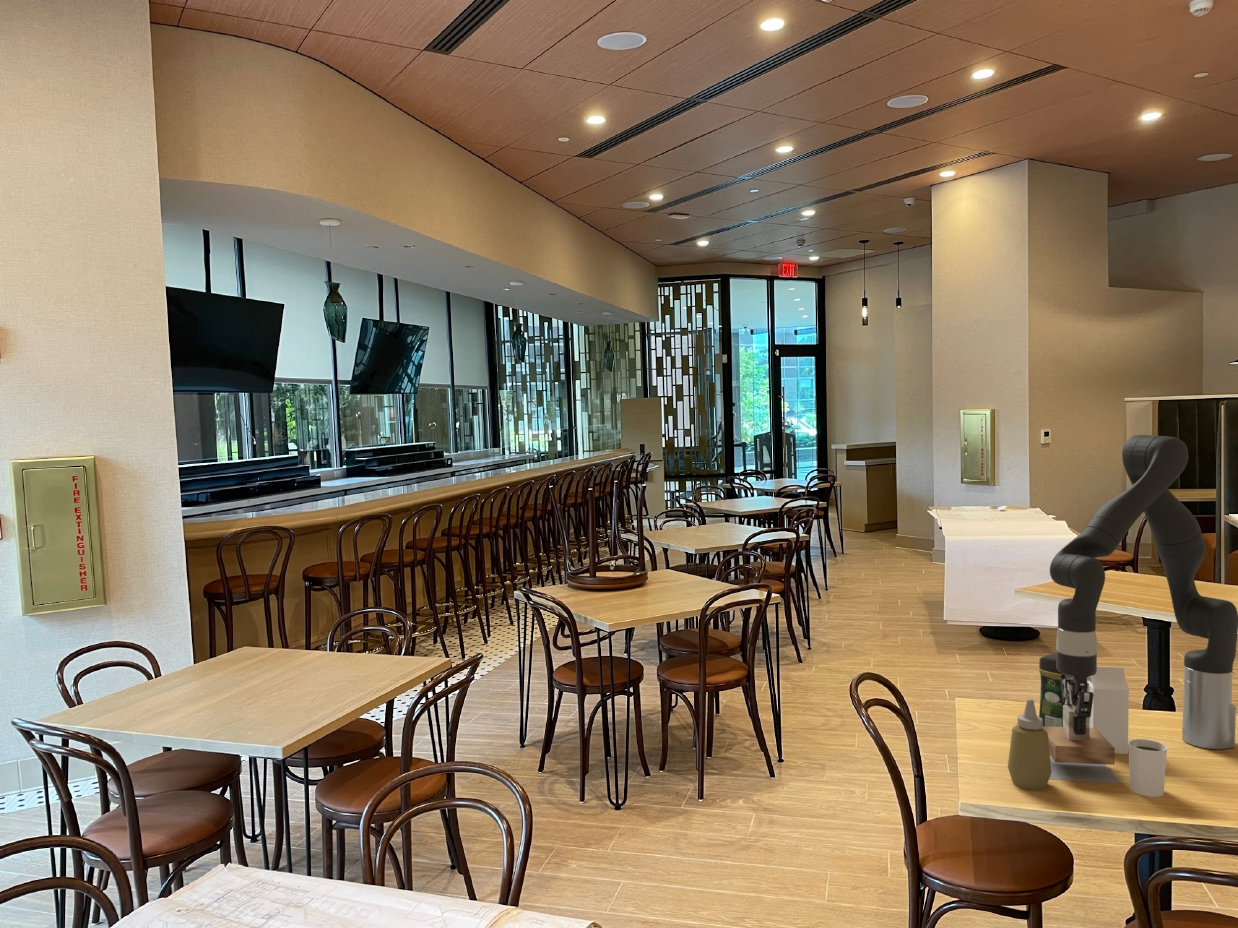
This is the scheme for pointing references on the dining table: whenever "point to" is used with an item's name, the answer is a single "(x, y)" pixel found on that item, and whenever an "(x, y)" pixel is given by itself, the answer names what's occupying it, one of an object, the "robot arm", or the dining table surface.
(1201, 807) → the dining table surface
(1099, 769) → the rubber mat
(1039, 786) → the squeeze bottle
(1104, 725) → the milk carton
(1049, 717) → the coffee jar
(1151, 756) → the white cup
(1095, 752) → the tan plate with knob
